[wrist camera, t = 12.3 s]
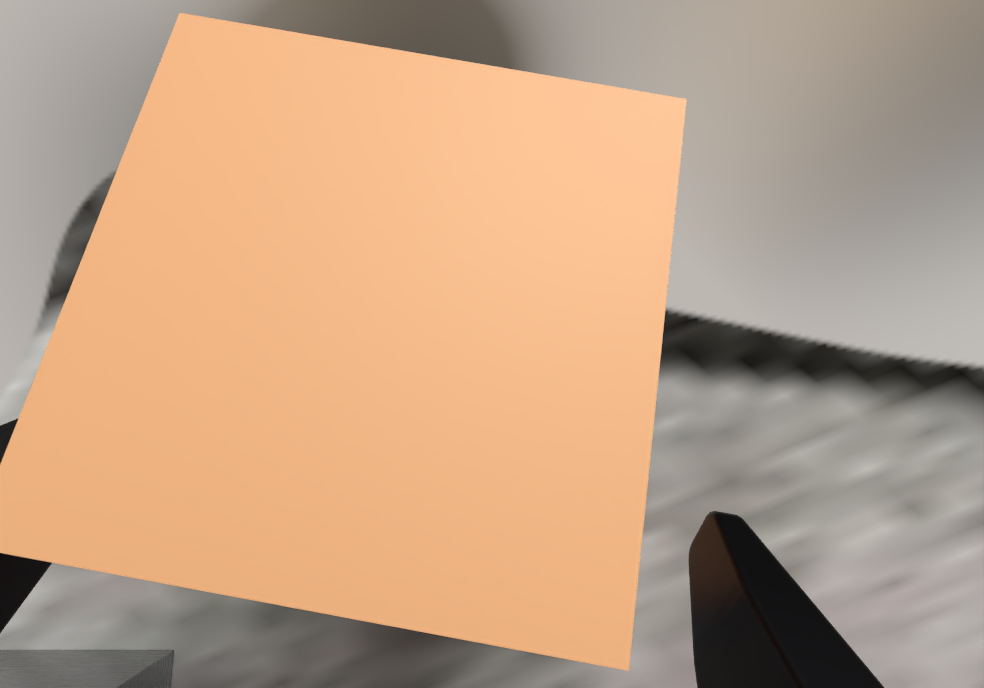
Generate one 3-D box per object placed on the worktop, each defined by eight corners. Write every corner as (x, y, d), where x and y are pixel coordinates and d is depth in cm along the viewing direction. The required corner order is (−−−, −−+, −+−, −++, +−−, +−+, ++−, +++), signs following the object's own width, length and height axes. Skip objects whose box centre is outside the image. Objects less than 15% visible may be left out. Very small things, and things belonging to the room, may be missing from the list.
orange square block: (531, 567, 16) (734, 824, 4) (324, 529, 16) (-196, 647, 4) (561, 365, 18) (775, 43, 5) (372, 331, 18) (126, -67, 5)
